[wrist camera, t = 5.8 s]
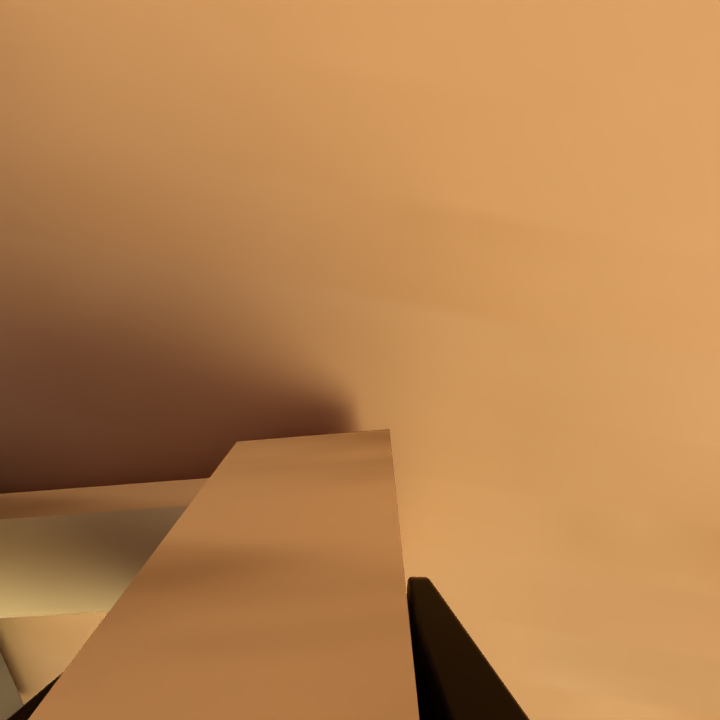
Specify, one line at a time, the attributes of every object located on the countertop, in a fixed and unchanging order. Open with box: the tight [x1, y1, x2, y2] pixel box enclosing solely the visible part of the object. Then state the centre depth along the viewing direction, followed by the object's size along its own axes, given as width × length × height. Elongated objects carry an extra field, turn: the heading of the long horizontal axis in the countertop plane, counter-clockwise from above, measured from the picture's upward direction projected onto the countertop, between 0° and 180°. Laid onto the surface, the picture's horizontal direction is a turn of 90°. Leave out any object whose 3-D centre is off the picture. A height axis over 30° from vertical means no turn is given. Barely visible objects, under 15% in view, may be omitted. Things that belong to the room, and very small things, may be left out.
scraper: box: [0, 429, 419, 720], centre depth 7 cm, size 14×15×8 cm
